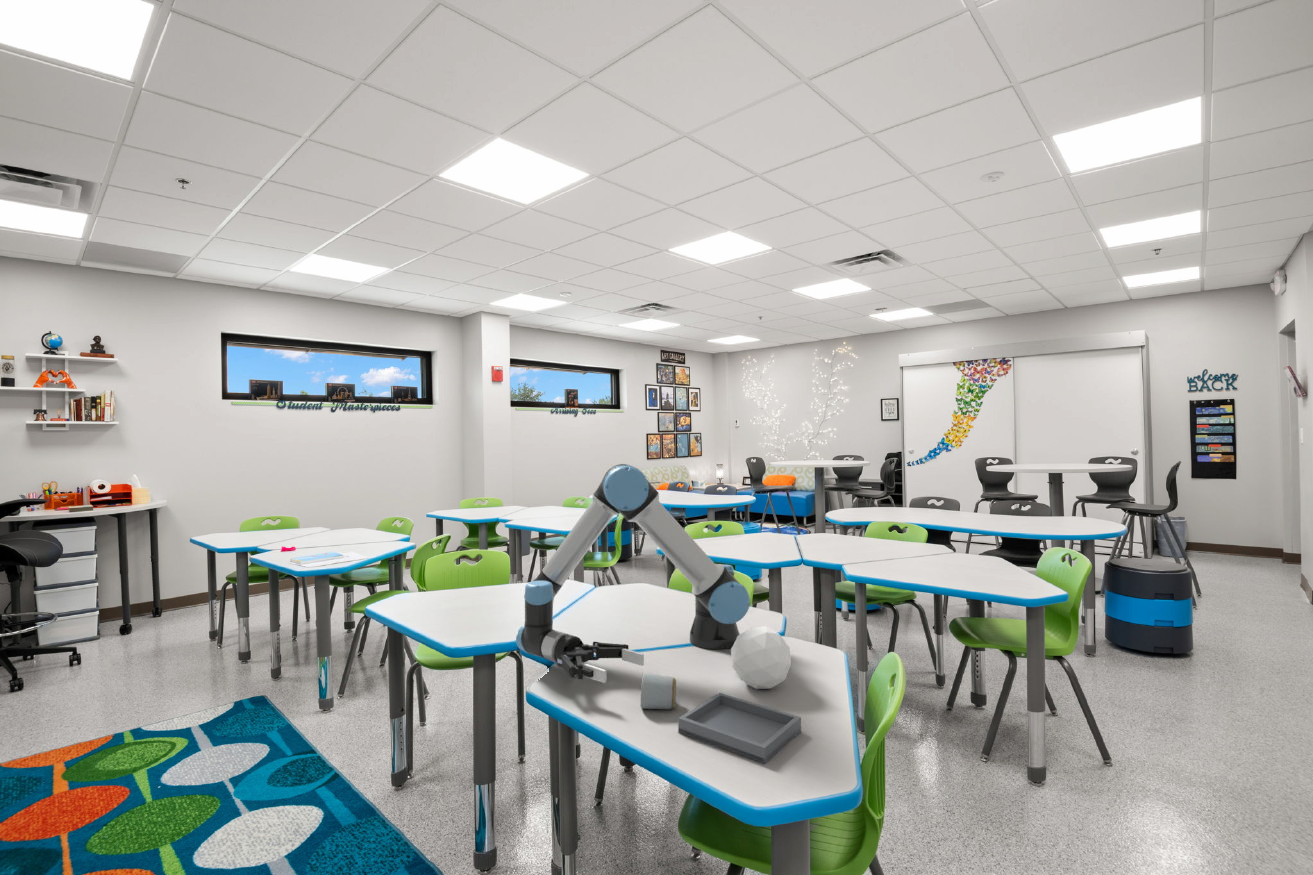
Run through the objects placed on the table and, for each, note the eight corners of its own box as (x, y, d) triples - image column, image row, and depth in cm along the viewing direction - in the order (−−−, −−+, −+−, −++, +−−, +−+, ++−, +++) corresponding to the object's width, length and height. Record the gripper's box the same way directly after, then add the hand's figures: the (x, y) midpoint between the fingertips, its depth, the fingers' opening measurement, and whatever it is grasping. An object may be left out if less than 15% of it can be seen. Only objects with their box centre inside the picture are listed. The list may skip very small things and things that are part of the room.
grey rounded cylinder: (675, 715, 133) (675, 681, 133) (640, 714, 134) (640, 680, 134) (677, 696, 143) (677, 665, 144) (644, 695, 144) (644, 664, 144)
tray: (719, 705, 138) (719, 692, 138) (801, 731, 125) (801, 717, 125) (678, 732, 125) (678, 717, 125) (764, 764, 113) (764, 748, 113)
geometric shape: (760, 713, 145) (741, 675, 138) (732, 670, 158) (713, 634, 151) (809, 680, 147) (792, 642, 140) (777, 641, 160) (760, 603, 153)
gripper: (596, 650, 166) (656, 668, 153) (525, 677, 147) (587, 701, 134) (596, 623, 167) (657, 638, 153) (525, 646, 147) (587, 667, 134)
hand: (624, 667), depth 144 cm, fingers open, 13 cm apart
